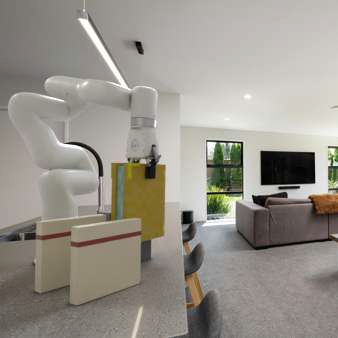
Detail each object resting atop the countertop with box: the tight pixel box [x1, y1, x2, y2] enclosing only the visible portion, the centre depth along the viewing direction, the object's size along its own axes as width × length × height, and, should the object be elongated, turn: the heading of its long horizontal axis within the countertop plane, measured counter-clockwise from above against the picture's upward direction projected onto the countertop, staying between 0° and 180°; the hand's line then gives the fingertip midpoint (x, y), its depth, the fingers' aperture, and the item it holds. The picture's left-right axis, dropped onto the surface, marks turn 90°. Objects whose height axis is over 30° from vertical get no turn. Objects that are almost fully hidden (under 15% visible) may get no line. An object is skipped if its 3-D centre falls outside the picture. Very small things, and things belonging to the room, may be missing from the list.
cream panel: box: [69, 218, 142, 306], centre depth 74 cm, size 3×15×18 cm, turn 156°
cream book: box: [34, 213, 106, 294], centre depth 80 cm, size 3×15×18 cm, turn 156°
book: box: [110, 162, 167, 242], centre depth 95 cm, size 17×7×25 cm, turn 166°
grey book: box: [104, 212, 152, 262], centre depth 97 cm, size 3×14×18 cm, turn 156°
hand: (142, 178), depth 95 cm, fingers closed on book, 7 cm apart
